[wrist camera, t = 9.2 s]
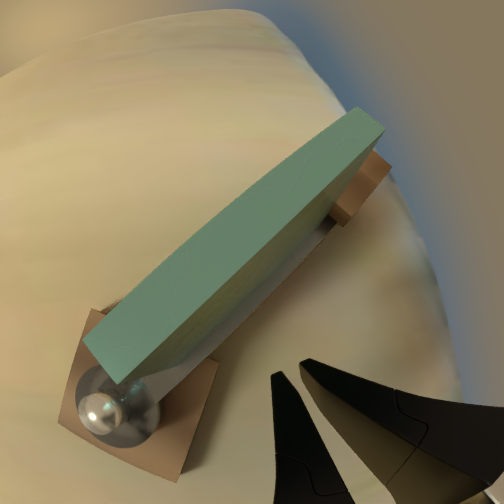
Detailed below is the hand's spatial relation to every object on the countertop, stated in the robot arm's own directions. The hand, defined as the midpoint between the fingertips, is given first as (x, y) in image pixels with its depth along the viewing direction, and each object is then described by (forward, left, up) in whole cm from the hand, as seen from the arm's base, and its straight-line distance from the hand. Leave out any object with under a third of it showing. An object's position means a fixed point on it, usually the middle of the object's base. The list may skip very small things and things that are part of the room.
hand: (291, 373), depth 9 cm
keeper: (+11, -1, -7) cm, 13 cm away
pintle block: (-5, +6, -7) cm, 11 cm away
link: (+2, +3, -5) cm, 7 cm away
